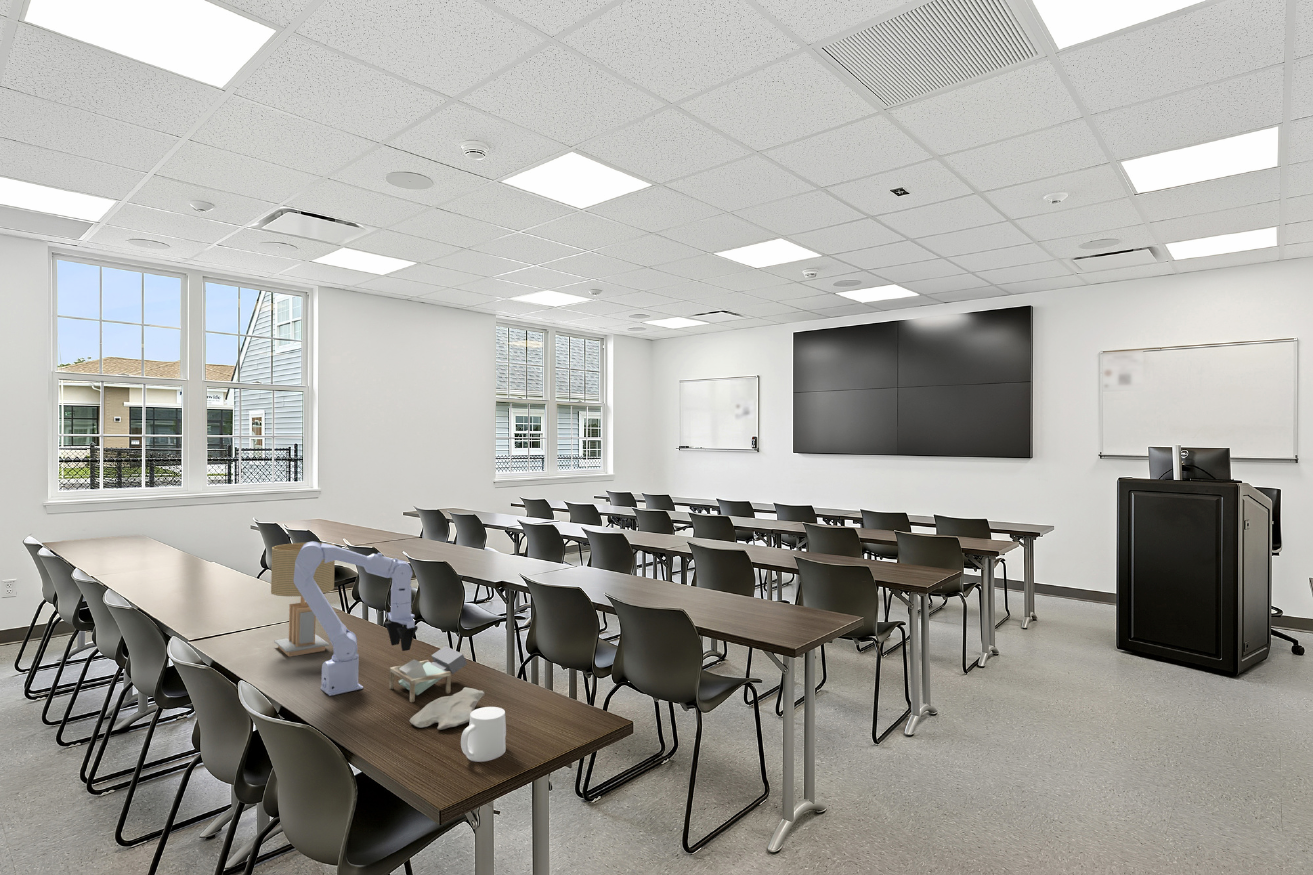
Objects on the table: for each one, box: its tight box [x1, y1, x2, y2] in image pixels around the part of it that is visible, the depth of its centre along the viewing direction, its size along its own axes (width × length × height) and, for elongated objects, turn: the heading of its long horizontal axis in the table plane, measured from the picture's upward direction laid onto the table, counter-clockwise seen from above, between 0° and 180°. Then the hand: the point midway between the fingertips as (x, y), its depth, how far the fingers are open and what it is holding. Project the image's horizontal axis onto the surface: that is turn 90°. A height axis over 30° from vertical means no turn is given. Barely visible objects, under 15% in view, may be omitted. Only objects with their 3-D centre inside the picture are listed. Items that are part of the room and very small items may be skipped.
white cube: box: [399, 658, 427, 686], centre depth 203 cm, size 5×5×5 cm
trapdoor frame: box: [388, 659, 452, 703], centre depth 204 cm, size 12×15×6 cm
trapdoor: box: [397, 645, 468, 696], centre depth 207 cm, size 16×12×4 cm
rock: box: [409, 687, 485, 731], centre depth 184 cm, size 21×5×15 cm
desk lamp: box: [270, 542, 336, 658], centre depth 242 cm, size 20×20×35 cm
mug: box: [460, 706, 507, 763], centre depth 163 cm, size 12×9×8 cm
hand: (400, 647), depth 211 cm, fingers open, 7 cm apart
